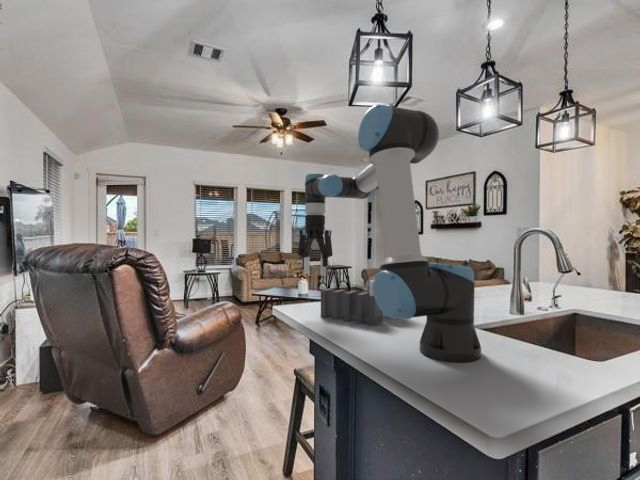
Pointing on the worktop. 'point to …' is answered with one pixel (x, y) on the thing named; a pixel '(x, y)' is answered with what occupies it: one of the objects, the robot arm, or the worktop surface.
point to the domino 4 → (362, 307)
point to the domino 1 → (326, 302)
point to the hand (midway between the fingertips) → (314, 274)
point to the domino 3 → (350, 306)
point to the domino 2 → (338, 304)
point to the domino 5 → (374, 312)
